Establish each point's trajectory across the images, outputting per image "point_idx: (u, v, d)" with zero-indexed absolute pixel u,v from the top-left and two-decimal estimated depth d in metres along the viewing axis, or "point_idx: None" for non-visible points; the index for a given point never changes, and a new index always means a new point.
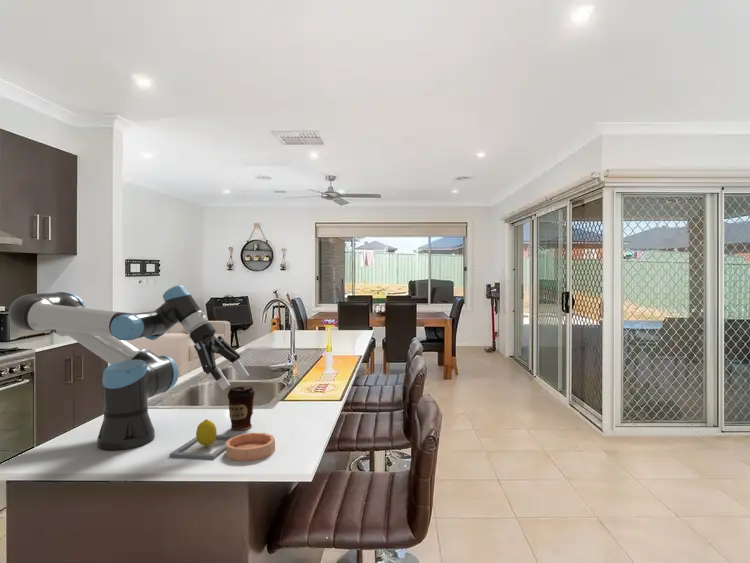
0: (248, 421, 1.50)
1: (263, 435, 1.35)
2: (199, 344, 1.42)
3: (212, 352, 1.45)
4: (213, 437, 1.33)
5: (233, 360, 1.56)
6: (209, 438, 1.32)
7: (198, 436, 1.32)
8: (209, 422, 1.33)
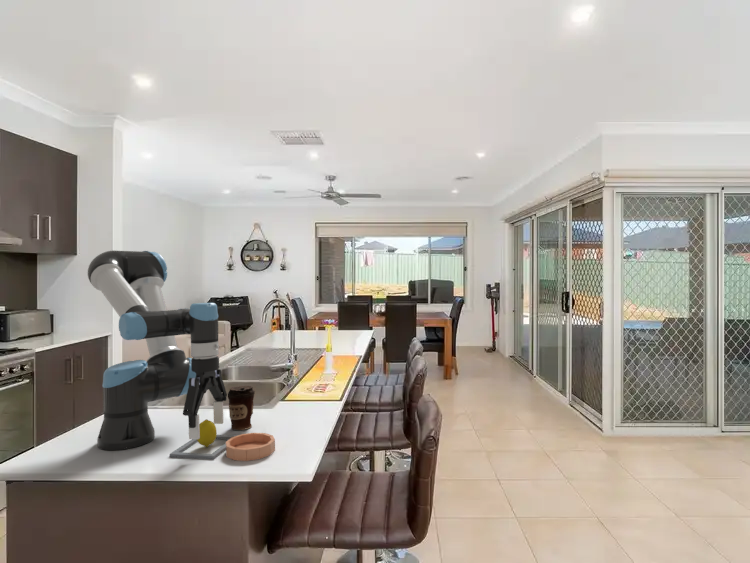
0: (248, 421, 1.50)
1: (263, 435, 1.35)
2: (195, 381, 1.27)
3: (202, 393, 1.29)
4: (213, 437, 1.33)
5: (217, 399, 1.41)
6: (209, 438, 1.32)
7: None
8: (209, 422, 1.33)
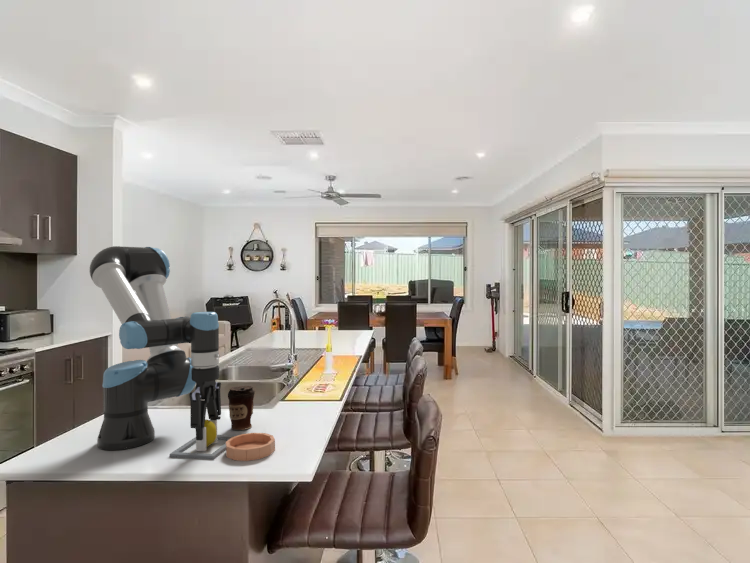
0: (248, 421, 1.50)
1: (263, 435, 1.35)
2: (196, 397, 1.27)
3: (205, 404, 1.31)
4: (213, 437, 1.33)
5: (211, 418, 1.37)
6: (209, 439, 1.32)
7: None
8: (209, 422, 1.33)
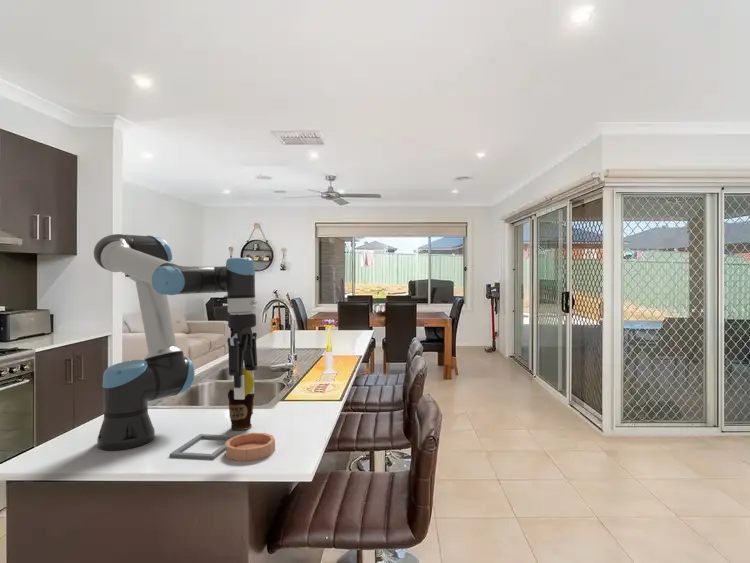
0: (248, 421, 1.50)
1: (263, 435, 1.35)
2: (234, 342, 1.24)
3: (243, 352, 1.27)
4: (251, 386, 1.29)
5: (248, 368, 1.34)
6: (247, 387, 1.28)
7: None
8: (246, 371, 1.30)
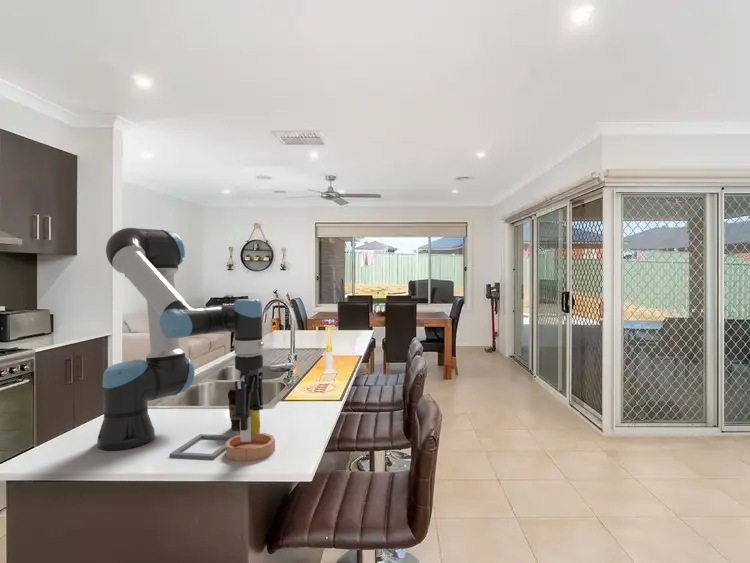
0: None
1: (263, 435, 1.35)
2: (241, 385, 1.24)
3: (250, 394, 1.27)
4: (257, 427, 1.29)
5: (254, 408, 1.34)
6: (253, 429, 1.28)
7: None
8: (253, 412, 1.30)
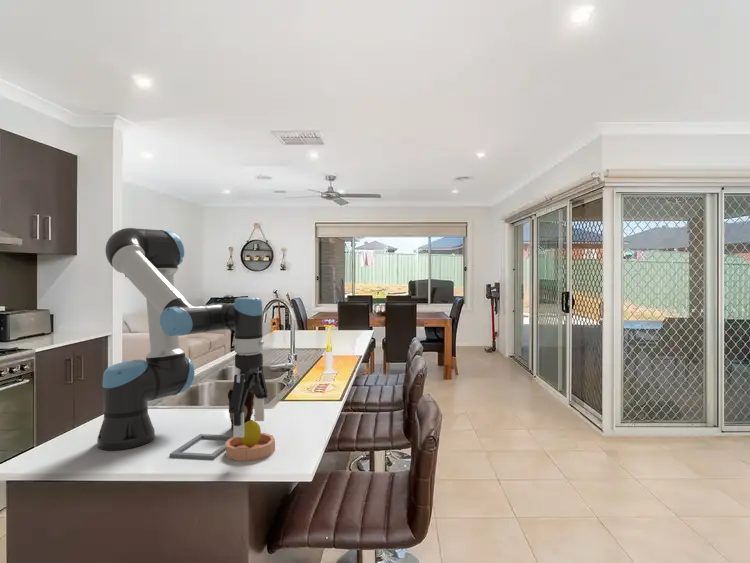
0: None
1: (263, 435, 1.35)
2: (240, 378, 1.23)
3: (247, 390, 1.26)
4: (257, 439, 1.29)
5: (258, 396, 1.37)
6: (254, 440, 1.28)
7: (243, 437, 1.28)
8: (254, 423, 1.30)
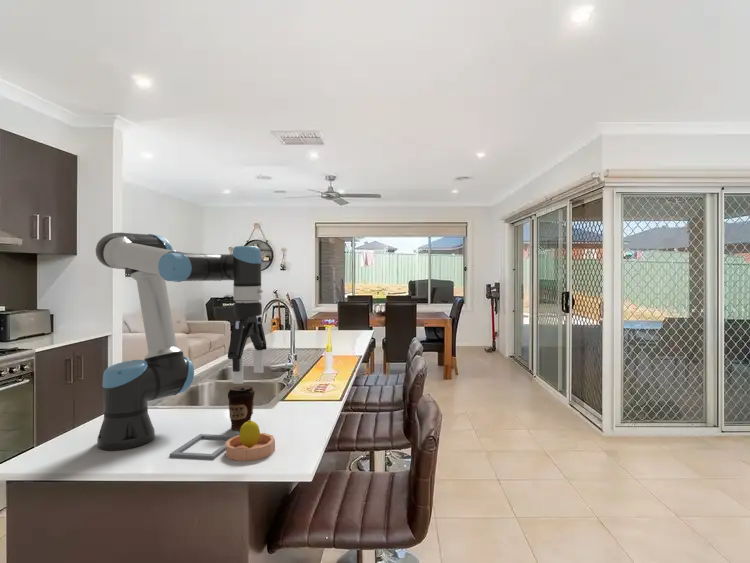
0: None
1: (263, 435, 1.35)
2: (239, 324, 1.23)
3: (246, 338, 1.26)
4: (257, 438, 1.29)
5: (257, 348, 1.37)
6: (253, 440, 1.28)
7: (242, 437, 1.28)
8: (253, 423, 1.30)
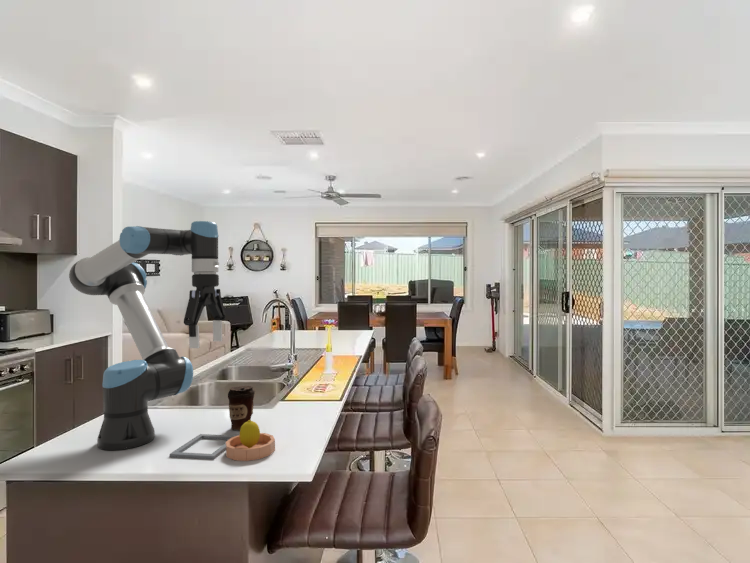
0: None
1: (263, 435, 1.35)
2: (195, 293, 1.32)
3: (202, 306, 1.35)
4: (257, 438, 1.29)
5: (217, 318, 1.46)
6: (253, 440, 1.28)
7: (242, 437, 1.28)
8: (253, 423, 1.30)
